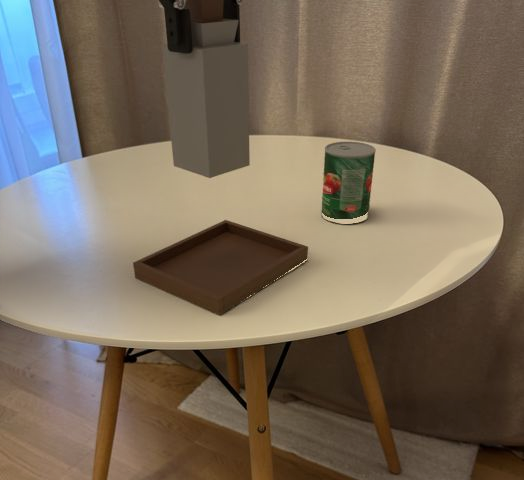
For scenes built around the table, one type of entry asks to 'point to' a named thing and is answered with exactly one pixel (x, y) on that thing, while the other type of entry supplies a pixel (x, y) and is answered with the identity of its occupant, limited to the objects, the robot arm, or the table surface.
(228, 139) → the perfume bottle
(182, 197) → the table surface
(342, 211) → the canned tomato
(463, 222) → the table surface
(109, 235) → the table surface
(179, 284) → the tray
